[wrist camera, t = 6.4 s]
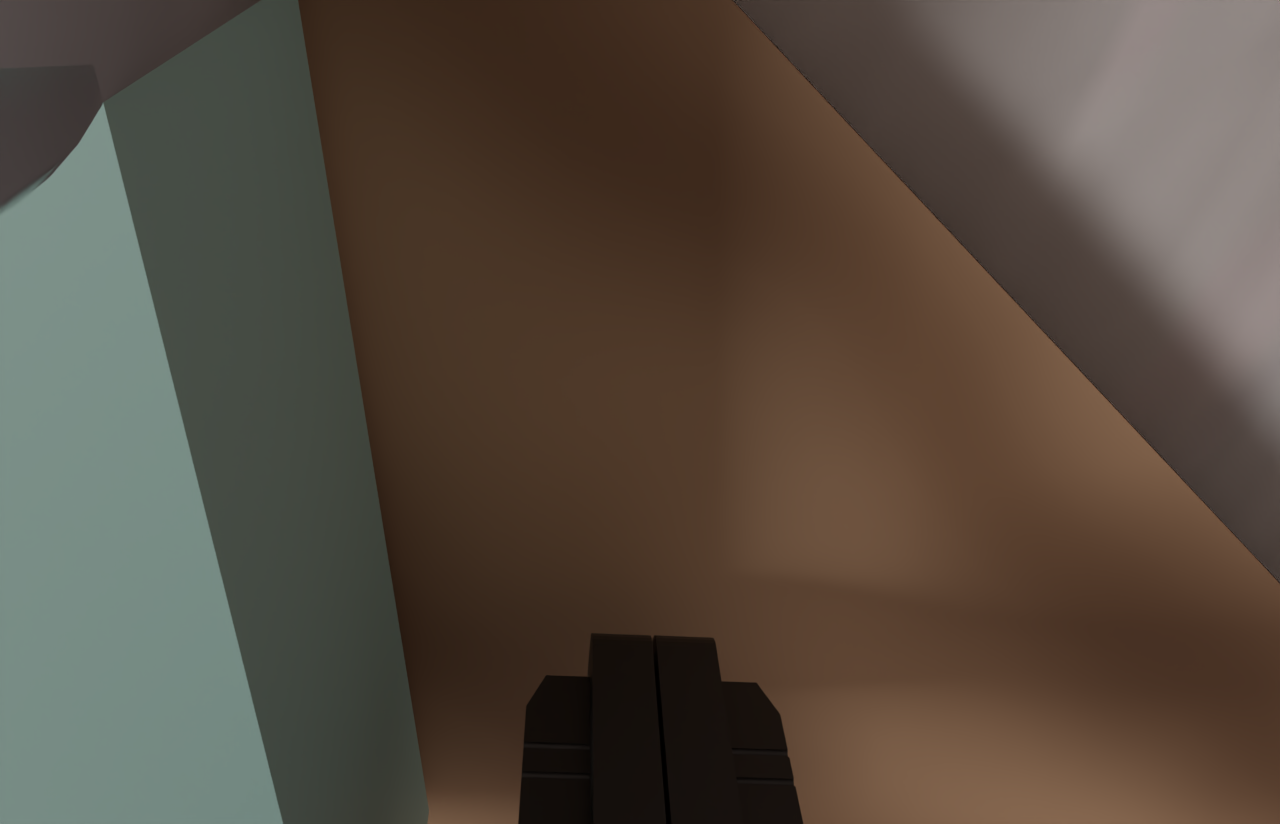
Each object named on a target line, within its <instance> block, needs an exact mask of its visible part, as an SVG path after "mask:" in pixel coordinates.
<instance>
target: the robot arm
mask: <svg viewBox="0 0 1280 824" xmlns="http://www.w3.org/2000/svg"><path fill="white" fill-rule="evenodd" d="M518 824H803V819H802V815H801V810H800V805H799V801H798V796H797V791H796V786H794V777H793V772H792V767H791V763H790V758H789V757H788V748H787V744H786V739H785V734H784V729H783V725H782V720H781V715H780V713H779V712H778V710H777V709H776V708H775V706H774V705H773V704H772V702H771V701H770V700H769V698H768V697H767V696H766V694H765V693H764V692H763V690H762V689H761V688H760V686H759V685H758V684H757V683H756V682H729V681H721V674H720V668H719V661H718V655H717V648H716V643H715V640H714V638H713V637H687V636H661V635H654V636H653V640H652V638H651V636H650V635H629V634H603V633H591V639H590V649H589V662H588V674H587V677H582V676H555V675H546V676H545V677H544V679H543V681H542V682H541V684H540V685H539V687H538V688H537V690H536V691H535V693H534V694H533V696H532V698H531V699H530V701H529V702H528V704H527V705H526V715H525V730H524V746H523V760H522V776H521V790H520V805H519V819H518Z"/></svg>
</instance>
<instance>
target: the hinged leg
mask: <svg viewBox="0 0 1280 824" xmlns="http://www.w3.org/2000/svg"><path fill="white" fill-rule="evenodd" d="M428 815H429V807H428V801H427V795H426V788H425V782H424V776H423V770H422V764H421V758H420V751H419V745H418V739H417V733H416V727H415V720H414V714H413V708H412V702H411V696H410V690H409V683H408V677H407V671H406V665H405V659H404V652H403V646H402V640H401V634H400V628H399V622H398V615H397V609H396V603H395V597H394V591H393V584H392V578H391V572H390V566H389V560H388V554H387V547H386V541H385V535H384V529H383V523H382V516H381V510H380V504H379V498H378V492H377V486H376V479H375V473H374V467H373V461H372V455H371V448H370V442H369V436H368V430H367V424H366V418H365V411H364V405H363V399H362V393H361V387H360V380H359V374H358V368H357V362H356V356H355V350H354V343H353V337H352V331H351V325H350V319H349V312H348V306H347V300H346V294H345V288H344V282H343V275H342V269H341V263H340V257H339V251H338V244H337V238H336V232H335V226H334V220H333V214H332V207H331V201H330V195H329V189H328V183H327V176H326V170H325V164H324V158H323V152H322V146H321V139H320V133H319V127H318V121H317V115H316V108H315V102H314V96H313V90H312V84H311V78H310V71H309V65H308V59H307V53H306V47H305V40H304V34H303V28H302V22H301V16H300V10H299V3H298V0H0V824H427V823H428Z"/></svg>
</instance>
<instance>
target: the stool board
mask: <svg viewBox="0 0 1280 824" xmlns="http://www.w3.org/2000/svg"><path fill="white" fill-rule="evenodd" d="M298 3H299V10H300V16H301V22H302V28H303V34H304V40H305V47H306V53H307V59H308V65H309V71H310V78H311V84H312V90H313V96H314V102H315V108H316V115H317V121H318V127H319V133H320V139H321V146H322V152H323V158H324V164H325V170H326V176H327V183H328V189H329V195H330V201H331V207H332V214H333V220H334V226H335V232H336V238H337V244H338V251H339V257H340V263H341V269H342V275H343V282H344V288H345V294H346V300H347V306H348V312H349V319H350V325H351V331H352V337H353V343H354V350H355V356H356V362H357V368H358V374H359V380H360V387H361V393H362V399H363V405H364V411H365V418H366V424H367V430H368V436H369V442H370V448H371V455H372V461H373V467H374V473H375V479H376V486H377V492H378V498H379V504H380V510H381V516H382V523H383V529H384V535H385V541H386V547H387V554H388V560H389V566H390V572H391V578H392V584H393V591H394V597H395V603H396V609H397V615H398V622H399V628H400V634H401V640H402V646H403V652H404V659H405V665H406V671H407V677H408V683H409V690H410V696H411V702H412V708H413V714H414V720H415V727H416V733H417V739H418V745H419V751H420V758H421V764H422V770H423V776H424V782H425V788H426V795H427V801H428V807H429V815H428V823H427V824H518V819H519V805H520V790H521V776H522V760H523V746H524V730H525V715H526V705H527V704H528V702H529V701H530V699H531V698H532V696H533V694H534V693H535V691H536V690H537V688H538V687H539V685H540V684H541V682H542V681H543V679H544V677H545V676H546V675H555V676H582V677H587V674H588V662H589V649H590V639H591V633H603V634H629V635H650V636H651V638H652V640H653V636H654V635H661V636H687V637H713V638H714V640H715V643H716V648H717V655H718V661H719V668H720V674H721V681H729V682H756V683H757V684H758V685H759V686H760V688H761V689H762V690H763V692H764V693H765V694H766V696H767V697H768V698H769V700H770V701H771V702H772V704H773V705H774V706H775V708H776V709H777V710H778V712H779V713H780V715H781V720H782V725H783V729H784V734H785V739H786V744H787V748H788V757H789V758H790V763H791V767H792V772H793V777H794V786H796V791H797V796H798V801H799V805H800V810H801V815H802V819H803V824H1280V583H1279V582H1278V581H1277V580H1276V579H1275V577H1274V576H1273V575H1272V574H1271V573H1270V572H1269V571H1268V570H1267V569H1266V568H1265V567H1264V566H1263V565H1262V564H1261V563H1260V561H1259V560H1258V559H1257V558H1256V557H1255V556H1254V555H1253V554H1252V553H1251V552H1250V551H1249V550H1248V549H1247V548H1246V547H1245V546H1244V544H1243V543H1242V542H1241V541H1240V540H1239V539H1238V538H1237V537H1236V536H1235V535H1234V534H1233V533H1232V532H1231V531H1230V530H1229V528H1228V527H1227V526H1226V525H1225V524H1224V523H1223V522H1222V521H1221V520H1220V519H1219V518H1218V517H1217V516H1216V515H1215V514H1214V512H1213V511H1212V510H1211V509H1210V508H1209V507H1208V506H1207V505H1206V504H1205V503H1204V502H1203V501H1202V500H1201V499H1200V498H1199V497H1198V495H1197V494H1196V493H1195V492H1194V491H1193V490H1192V489H1191V488H1190V487H1189V486H1188V485H1187V484H1186V483H1185V482H1184V481H1183V479H1182V478H1181V477H1180V476H1179V475H1178V474H1177V473H1176V472H1175V471H1174V470H1173V469H1172V468H1171V467H1170V466H1169V465H1168V463H1167V462H1166V461H1165V460H1164V459H1163V458H1162V457H1161V456H1160V455H1159V454H1158V453H1157V452H1156V451H1155V450H1154V449H1153V448H1152V446H1151V445H1150V444H1149V443H1148V442H1147V441H1146V440H1145V439H1144V438H1143V437H1142V436H1141V435H1140V434H1139V433H1138V432H1137V430H1136V429H1135V428H1134V427H1133V426H1132V425H1131V424H1130V423H1129V422H1128V421H1127V420H1126V419H1125V418H1124V417H1123V416H1122V414H1121V413H1120V412H1119V411H1118V410H1117V409H1116V408H1115V407H1114V406H1113V405H1112V404H1111V403H1110V402H1109V401H1108V400H1107V399H1106V397H1105V396H1104V395H1103V394H1102V393H1101V392H1100V391H1099V390H1098V389H1097V388H1096V387H1095V386H1094V385H1093V384H1092V383H1091V381H1090V380H1089V379H1088V378H1087V377H1086V376H1085V375H1084V374H1083V373H1082V372H1081V371H1080V370H1079V369H1078V368H1077V367H1076V365H1075V364H1074V363H1073V362H1072V361H1071V360H1070V359H1069V358H1068V357H1067V356H1066V355H1065V354H1064V353H1063V352H1062V351H1061V350H1060V348H1059V347H1058V346H1057V345H1056V344H1055V343H1054V342H1053V341H1052V340H1051V339H1050V338H1049V337H1048V336H1047V335H1046V334H1045V332H1044V331H1043V330H1042V329H1041V328H1040V327H1039V326H1038V325H1037V324H1036V323H1035V322H1034V321H1033V320H1032V319H1031V318H1030V316H1029V315H1028V314H1027V313H1026V312H1025V311H1024V310H1023V309H1022V308H1021V307H1020V306H1019V305H1018V304H1017V303H1016V302H1015V301H1014V299H1013V298H1012V297H1011V296H1010V295H1009V294H1008V293H1007V292H1006V291H1005V290H1004V289H1003V288H1002V287H1001V286H1000V285H999V283H998V282H997V281H996V280H995V279H994V278H993V277H992V276H991V275H990V274H989V273H988V272H987V271H986V270H985V269H984V267H983V266H982V265H981V264H980V263H979V262H978V261H977V260H976V259H975V258H974V257H973V256H972V255H971V254H970V253H969V252H968V250H967V249H966V248H965V247H964V246H963V245H962V244H961V243H960V242H959V241H958V240H957V239H956V238H955V237H954V236H953V234H952V233H951V232H950V231H949V230H948V229H947V228H946V227H945V226H944V225H943V224H942V223H941V222H940V221H939V220H938V218H937V217H936V216H935V215H934V214H933V213H932V212H931V211H930V210H929V209H928V208H927V207H926V206H925V205H924V204H923V203H922V201H921V200H920V199H919V198H918V197H917V196H916V195H915V194H914V193H913V192H912V191H911V190H910V189H909V188H908V187H907V185H906V184H905V183H904V182H903V181H902V180H901V179H900V178H899V177H898V176H897V175H896V174H895V173H894V172H893V171H892V169H891V168H890V167H889V166H888V165H887V164H886V163H885V162H884V161H883V160H882V159H881V158H880V157H879V156H878V155H877V154H876V152H875V151H874V150H873V149H872V148H871V147H870V146H869V145H868V144H867V143H866V142H865V141H864V140H863V139H862V138H861V136H860V135H859V134H858V133H857V132H856V131H855V130H854V129H853V128H852V127H851V126H850V125H849V124H848V123H847V122H846V120H845V119H844V118H843V117H842V116H841V115H840V114H839V113H838V112H837V111H836V110H835V109H834V108H833V107H832V106H831V105H830V103H829V102H828V101H827V100H826V99H825V98H824V97H823V96H822V95H821V94H820V93H819V92H818V91H817V90H816V89H815V87H814V86H813V85H812V84H811V83H810V82H809V81H808V80H807V79H806V78H805V77H804V76H803V75H802V74H801V73H800V71H799V70H798V69H797V68H796V67H795V66H794V65H793V64H792V63H791V62H790V61H789V60H788V59H787V58H786V57H785V56H784V54H783V53H782V52H781V51H780V50H779V49H778V48H777V47H776V46H775V45H774V44H773V43H772V42H771V41H770V40H769V38H768V37H767V36H766V35H765V34H764V33H763V32H762V31H761V30H760V29H759V28H758V27H757V26H756V25H755V24H754V23H753V21H752V20H751V19H750V18H749V17H748V16H747V15H746V14H745V13H744V12H743V11H742V10H741V9H740V8H739V7H738V5H737V4H736V3H735V2H734V1H733V0H298Z"/></svg>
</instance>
